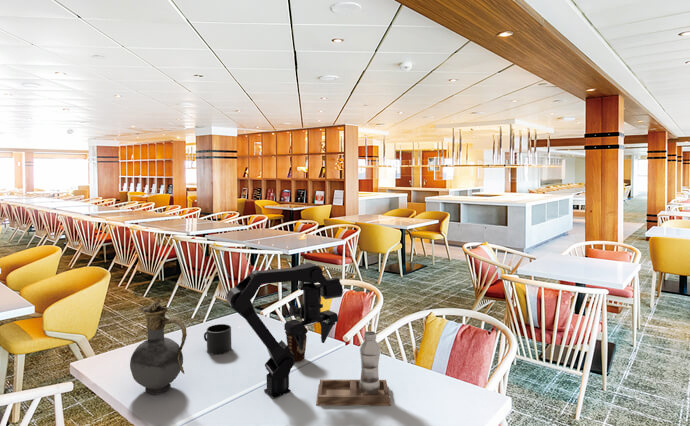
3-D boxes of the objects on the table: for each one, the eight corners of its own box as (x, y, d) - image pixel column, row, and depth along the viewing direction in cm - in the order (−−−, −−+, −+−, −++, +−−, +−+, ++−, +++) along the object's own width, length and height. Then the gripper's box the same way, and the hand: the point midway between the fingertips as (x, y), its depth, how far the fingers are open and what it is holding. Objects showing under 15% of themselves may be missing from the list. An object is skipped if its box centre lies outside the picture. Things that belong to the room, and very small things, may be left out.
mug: (211, 343, 179) (210, 322, 178) (236, 347, 175) (235, 325, 174) (196, 351, 170) (196, 330, 169) (222, 356, 166) (221, 333, 165)
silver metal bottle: (355, 391, 139) (356, 331, 137) (374, 386, 141) (374, 328, 140) (364, 400, 133) (365, 338, 131) (383, 396, 136) (384, 335, 134)
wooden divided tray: (316, 405, 131) (315, 397, 131) (318, 385, 143) (318, 378, 143) (390, 405, 131) (390, 397, 131) (387, 386, 143) (387, 379, 143)
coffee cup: (310, 355, 167) (309, 322, 166) (306, 364, 159) (305, 330, 158) (288, 354, 168) (287, 322, 167) (283, 363, 160) (282, 329, 159)
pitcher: (149, 378, 148) (146, 294, 145) (197, 385, 143) (194, 298, 140) (125, 394, 138) (121, 303, 135) (176, 402, 133) (173, 308, 130)
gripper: (319, 290, 154) (319, 332, 156) (274, 301, 142) (275, 346, 143) (339, 297, 146) (339, 341, 147) (294, 309, 134) (294, 357, 135)
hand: (312, 346), depth 144 cm, fingers open, 9 cm apart
